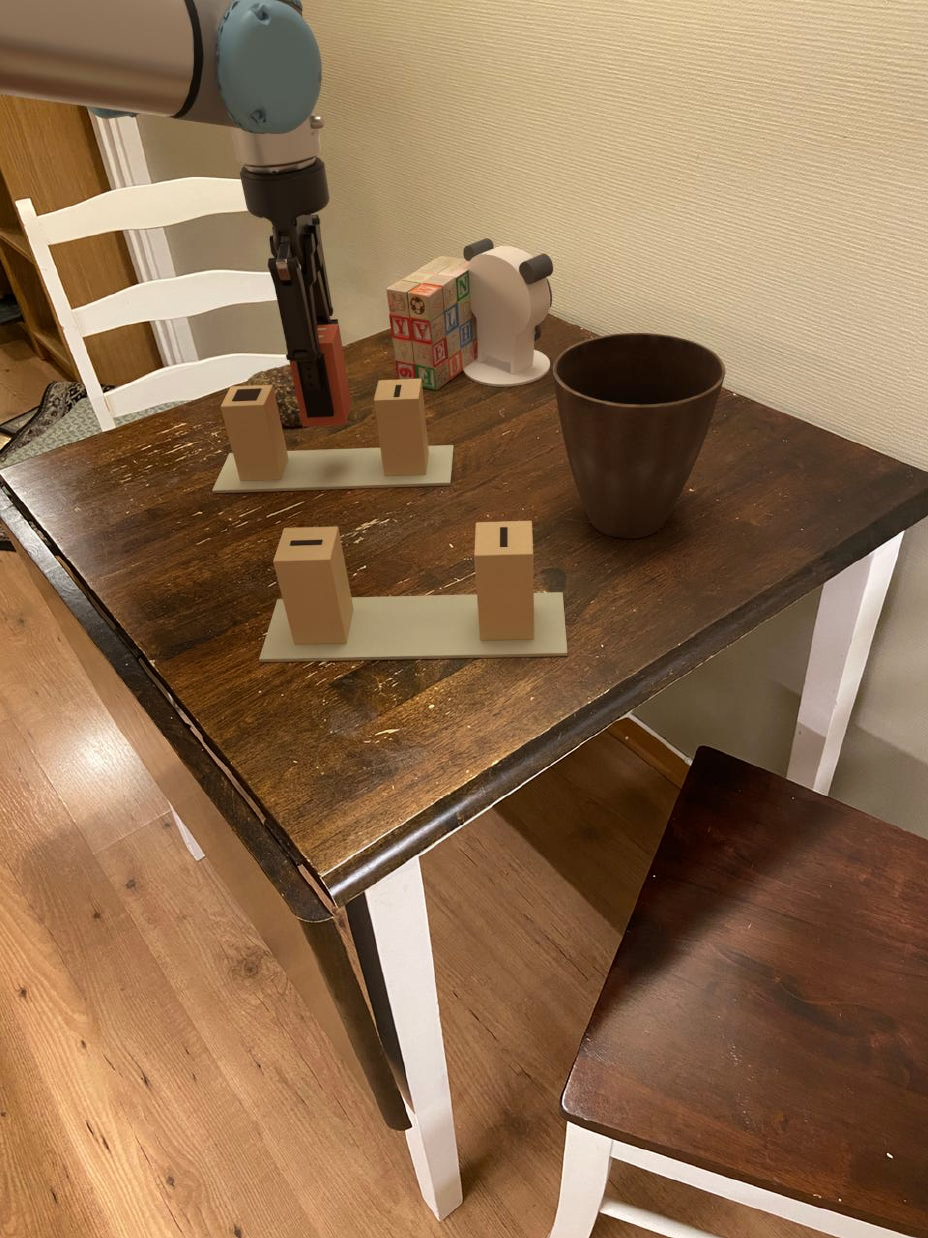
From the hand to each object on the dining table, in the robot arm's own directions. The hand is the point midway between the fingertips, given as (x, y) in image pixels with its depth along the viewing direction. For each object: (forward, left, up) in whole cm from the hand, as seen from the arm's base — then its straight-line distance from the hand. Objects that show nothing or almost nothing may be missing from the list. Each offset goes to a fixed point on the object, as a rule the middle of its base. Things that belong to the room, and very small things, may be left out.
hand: (324, 402), depth 93 cm
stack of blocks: (+13, +29, -8) cm, 33 cm away
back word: (0, 0, -8) cm, 8 cm away
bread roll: (-8, +16, -8) cm, 20 cm away
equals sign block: (0, 0, -2) cm, 2 cm away
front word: (+11, -27, -8) cm, 30 cm away
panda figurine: (+19, +24, -8) cm, 32 cm away
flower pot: (+31, -11, -8) cm, 34 cm away
